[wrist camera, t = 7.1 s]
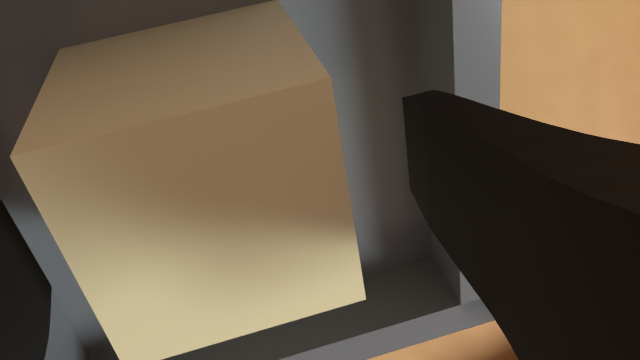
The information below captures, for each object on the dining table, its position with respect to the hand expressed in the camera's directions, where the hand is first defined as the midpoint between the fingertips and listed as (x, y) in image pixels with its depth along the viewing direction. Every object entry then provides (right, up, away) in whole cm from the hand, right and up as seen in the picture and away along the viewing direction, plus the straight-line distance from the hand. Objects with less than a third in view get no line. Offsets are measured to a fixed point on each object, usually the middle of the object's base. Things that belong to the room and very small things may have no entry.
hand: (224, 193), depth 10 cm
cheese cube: (-1, +2, +2) cm, 3 cm away
